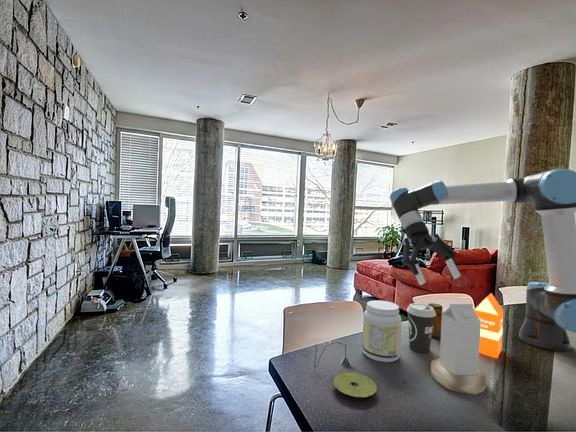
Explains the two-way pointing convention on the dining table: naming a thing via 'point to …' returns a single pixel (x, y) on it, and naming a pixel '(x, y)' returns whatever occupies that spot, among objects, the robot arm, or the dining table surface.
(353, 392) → the green disc
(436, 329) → the condiment
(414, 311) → the coffee cup
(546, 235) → the robot arm
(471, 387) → the birch stand
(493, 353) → the orange juice
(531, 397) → the dining table surface
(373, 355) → the supplement tub
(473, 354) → the milk carton
